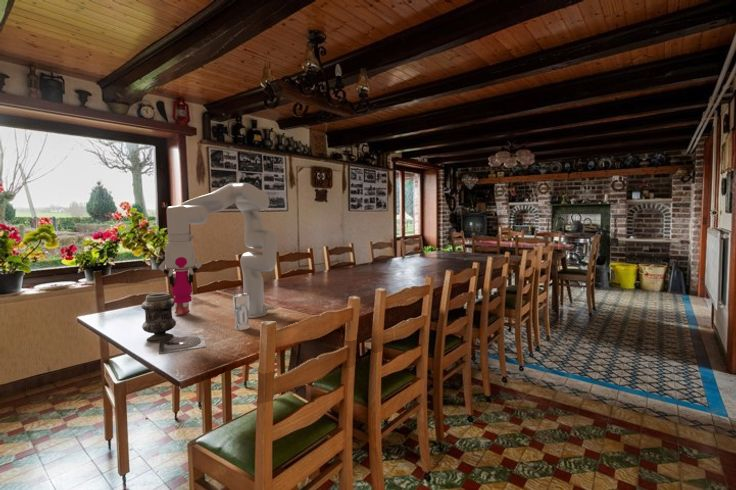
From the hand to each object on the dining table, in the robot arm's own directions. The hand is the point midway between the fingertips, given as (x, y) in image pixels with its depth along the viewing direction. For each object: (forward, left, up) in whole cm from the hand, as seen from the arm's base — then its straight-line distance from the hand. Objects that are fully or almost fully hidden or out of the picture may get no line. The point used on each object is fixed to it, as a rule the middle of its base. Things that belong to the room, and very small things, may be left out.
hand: (181, 284), depth 149 cm
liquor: (0, -48, -24) cm, 54 cm away
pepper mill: (0, 0, -7) cm, 7 cm away
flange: (+1, 0, -23) cm, 23 cm away
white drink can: (-23, -10, -24) cm, 35 cm away
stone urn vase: (+9, -11, -23) cm, 27 cm away
